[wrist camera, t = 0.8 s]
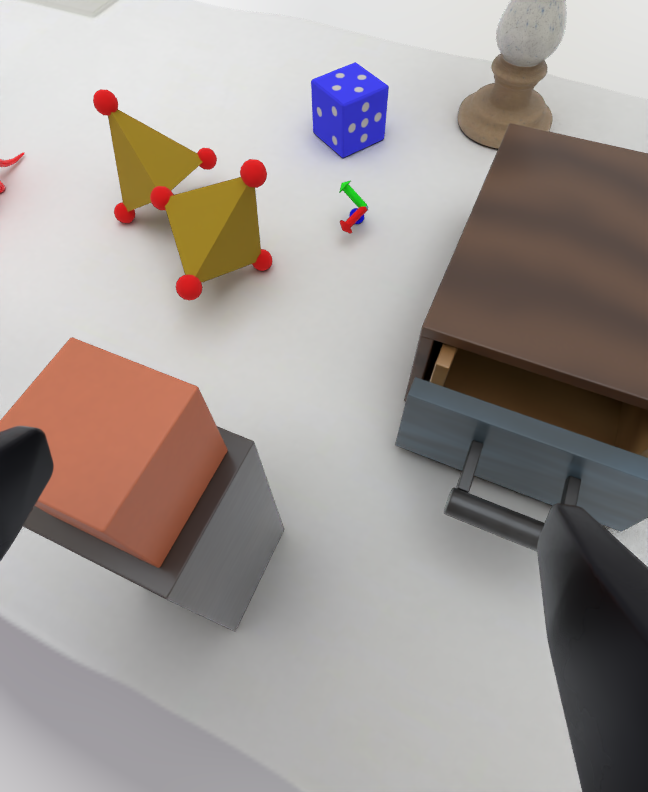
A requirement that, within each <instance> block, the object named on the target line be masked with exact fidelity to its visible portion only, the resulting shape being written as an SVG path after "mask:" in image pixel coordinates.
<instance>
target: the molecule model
mask: <svg viewBox="0 0 648 792" xmlns="http://www.w3.org/2000/svg"><path fill="white" fill-rule="evenodd" d="M93 102H94V106H95V108H96V109H97V111H98V112H100V113H101V114H103V115H108V119H109V124H110V130H111V136H112V142H113V148H114V153H115V159H116V165H117V171H118V177H119V182H120V188H121V194H122V200H123V203H119V204H117V205H116V207H115V210H114V214H115V217H116V218H117V220H119V221H120V222H122V223H130V222H132V221H133V219H134V218H135V210H134V209H136V208H139V207H141V206H144V205H146V204H149V203H152V204H153V206H154V207H156V208H157V209H159V210H166V212H167V215H168V219H169V222H170V225H171V229H172V232H173V235H174V239H175V242H176V245H177V249H178V252H179V255H180V259H181V262H182V265H183V269H184V272H185V275H183V276H182V277H180V278H179V279H178V281H177V283H176V290H177V293H178V294H179V296H180V297H182V298H183V299H185V300H194V299H196V298H198V297H199V296H200V294H201V293H202V284H201V283H202V282H205V281H207V280H210V279H213V278H215V277H218V276H221V275H223V274H226V273H229V272H231V271H234V270H237V269H239V268H242V267H245V266H247V265H250V264H252V265H253V266H254V268H256V269H257V270H260V271H265V270H267V269H269V268H270V266H271V265H272V256H271V255H270V253H269V252H268V251H266V250H264V249H261V247H260V236H259V226H258V215H257V204H256V194H255V188H258V187H259V186H261V185H263V184H264V182H265V180H266V177H267V172H266V168H265V166H264V165H263V163H262V162H260V161H259V160H253V159H249V160H248V161H246V162H244V164H243V165H242V167H241V170H240V175H241V177H239V178H236V179H232V180H228V181H225V182H221V183H217V184H213V185H210V186H206V187H202V188H199V189H195V190H191V191H188V192H184V193H180V194H176V195H174V194H173V193H172V191H171V190H172V189H173V188H174V187H176V186H177V185H178V184H179V183H180V182H181V181H182V180H183V179H185V178H186V177H187V176H188V175H189V174H190V173H191V172H192V171H193V170H195V169H196V168H197V167H198V166H200V167H201V168H203V169H209V170H210V169H212V168H213V167H214V166H215V164H216V161H217V158H216V155H215V153H214V152H213V151H212V150H211V149H209V148H202V149H200V150H199V151H198V153H195V152H193V151H192V150H190V149H188V148H186V147H184V146H183V145H181V144H179V143H177V142H175V141H174V140H172V139H170V138H168V137H166V136H165V135H163V134H161V133H159V132H157V131H156V130H154V129H152V128H150V127H148V126H147V125H145V124H143V123H141V122H139V121H138V120H136V119H134V118H132V117H130V116H129V115H127V114H125V113H123V112H121V111H120V110H118V101H117V98H116V97H115V96H114V94H113V93H111V92H110V91H108V90H99V91H97V92H96V93H95V95H94V99H93ZM349 183H350V181H347V182H344V183H342V184H341V188H340V192H341V191H342V190H343V191H344V192H345V193H346V194H347V195H348V196H349V198H350V199H351V200H352V201H353V202H354V203H355V204H356V205H357V206H358V207H359V208H355V209H353V210H351V212H350V217H349V218H348V219H347V221H346V222H344V221H342V220H341V221H340V224H341V227H342V230H343V231H345V232H348V233H352V230H351V227H352V226H353V225H354V224H360V223H362V222H363V220H364V213H365V212H366V211H367V210H368V206H367V204H366V203H365V202H364V201H363V200H362V199H361V197H360V196H359V195H358V194H357V193H356V192H355V191H354V190H353V189H352V188H351V187H350V185H349ZM340 192H339V193H340Z"/></svg>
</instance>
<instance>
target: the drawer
mask: <svg viewBox="0 0 648 792" xmlns="http://www.w3.org/2000/svg"><path fill="white" fill-rule="evenodd" d="M395 445H396V446H399V447H401V448H404V449H406V450H409V451H412V452H414V453H417V454H419V455H422V456H425V457H427V458H430V459H433V460H435V461H438V462H440V463H443V464H446V465H448V466H451V467H453V468H456V469H459V470H461V471H462V472H461V475H460V478H459V481H458V484H457V487H456V488H453V489H452V490H451V492H450V494H449V497H448V500H447V502H446V505H445V509H444V514H446V515H448V516H451V517H453V518H456V519H458V520H461V521H463V522H465V523H468V524H470V525H473V526H475V527H478V528H480V529H483V530H485V531H488V532H490V533H493V534H495V535H497V536H500V537H502V538H505V539H507V540H510V541H512V542H515V543H517V544H520V545H522V546H525V547H527V548H530V549H532V550H534V551H537V546H538V540H539V536H540V534H541V531H542V529H543V526H544V524H545V523H543V522H541V521H538V520H535V519H533V518H530V517H528V516H525V515H523V514H520V513H518V512H515V511H512V510H510V509H507V508H505V507H502V506H500V505H497V504H495V503H492V502H490V501H487V500H484V499H482V498H479V497H477V496H474V495H472V494H469V493H468V492H469V490H470V487H471V484H472V481H473V477H474V476H477V477H479V478H482V479H485V480H487V481H490V482H493V483H495V484H498V485H500V486H503V487H506V488H508V489H511V490H513V491H516V492H519V493H521V494H524V495H526V496H529V497H532V498H534V499H537V500H539V501H542V502H545V503H547V504H550V505H552V506H553V505H554V504H557V503H561V504H568V505H574V506H579V507H582V508H583V509H584V510H586V511H587V512H588V513H589V514H590V515H591V516H592V517H593V518H594V519H595V520H597V521H598V522H599V523H600V524H602V525H605V526H607V527H610V528H612V529H615V530H618V531H620V532H621V531H623V530H625V529H627V528H629V527H631V526H633V525H635V524H637V523H638V522H640V521H642V520H644V519H646V518H648V410H646V409H643V408H640V407H637V406H634V405H631V404H628V403H625V402H622V401H619V400H616V399H613V398H609V397H606V396H603V395H600V394H597V393H594V392H591V391H588V390H585V389H582V388H579V387H576V386H573V385H570V384H567V383H564V382H561V381H558V380H555V379H552V378H549V377H546V376H543V375H539V374H536V373H533V372H530V371H527V370H524V369H521V368H518V367H515V366H512V365H509V364H506V363H503V362H500V361H497V360H494V359H491V358H488V357H485V356H482V355H479V354H476V353H473V352H469V351H466V350H463V349H460V348H457V347H454V346H451V345H448V344H445V343H443V345H442V348H441V350H440V353H439V355H438V358H437V360H436V363H435V366H434V369H433V372H432V375H431V379H430V382H429V381H426V380H423V379H420V378H417V377H415V378H414V381H413V383H412V385H411V388H410V390H409V393H408V396H407V400H406V404H405V408H404V412H403V416H402V420H401V424H400V428H399V432H398V436H397V440H396V444H395ZM537 552H538V551H537Z"/></svg>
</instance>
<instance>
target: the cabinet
mask: <svg viewBox="0 0 648 792" xmlns="http://www.w3.org/2000/svg"><path fill="white" fill-rule="evenodd" d="M443 343H445V344H448V345H451V346H454V347H457V348H460V349H463V350H466V351H469V352H473V353H476V354H479V355H482V356H485V357H488V358H491V359H494V360H497V361H500V362H503V363H506V364H509V365H512V366H515V367H518V368H521V369H524V370H527V371H530V372H533V373H536V374H539V375H543V376H546V377H549V378H552V379H555V380H558V381H561V382H564V383H567V384H570V385H573V386H576V387H579V388H582V389H585V390H588V391H591V392H594V393H597V394H600V395H603V396H606V397H609V398H613V399H616V400H619V401H622V402H625V403H628V404H631V405H634V406H637V407H640V408H643V409H646V410H648V154H647V153H643V152H638V151H634V150H629V149H625V148H620V147H616V146H611V145H607V144H602V143H598V142H593V141H589V140H584V139H580V138H575V137H571V136H566V135H562V134H557V133H553V132H548V131H544V130H539V129H535V128H530V127H526V126H521V125H517V124H512V123H510V124H509V125H508V128H507V130H506V132H505V135H504V137H503V139H502V142H501V144H500V146H499V149H498V151H497V153H496V156H495V158H494V160H493V163H492V165H491V167H490V170H489V172H488V174H487V177H486V179H485V181H484V184H483V186H482V188H481V191H480V193H479V195H478V198H477V200H476V202H475V205H474V207H473V209H472V212H471V214H470V216H469V219H468V221H467V223H466V226H465V228H464V230H463V233H462V235H461V237H460V240H459V242H458V244H457V247H456V249H455V251H454V254H453V256H452V258H451V260H450V263H449V265H448V267H447V270H446V272H445V274H444V277H443V279H442V281H441V284H440V286H439V288H438V291H437V293H436V295H435V298H434V300H433V302H432V305H431V307H430V309H429V312H428V314H427V316H426V319H425V321H424V323H423V326H422V329H421V333H420V337H419V342H418V346H417V350H416V354H415V358H414V362H413V366H412V371H411V375H410V379H409V383H408V387H407V391H406V395H405V399H404V401H406V400H407V396H408V393H409V390H410V388H411V385H412V383H413V381H414V378H415V377H417V378H420V379H423V380H426V381H429V382H430V379H431V375H432V372H433V369H434V366H435V363H436V360H437V358H438V355H439V353H440V350H441V348H442V345H443Z"/></svg>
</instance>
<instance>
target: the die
mask: <svg viewBox="0 0 648 792" xmlns="http://www.w3.org/2000/svg"><path fill="white" fill-rule="evenodd" d="M311 88H312V112H313V133H315V134H316V135H317V136H318V137H319V138H320V139H321V140H323V141H324V142H325V143H326V144H327V145H328V146H329V147H331V148H332V149H333V150H334V151H335V152H336V153H337V154H339V155H340V156H341V157H342V158H344V157H346V156H348V155H350V154H353V153H355V152H357V151H359V150H361V149H364V148H366V147H368V146H370V145H372V144H374V143H377V142H379V141H381V140H383V139H384V134H385V123H386V111H387V100H388V88H389V86H388V85H386V84H385V83H383V82H382V81H381V80H379V79H378V78H377V77H375V76H374V75H372V74H371V73H370V72H368V71H367V70H365V69H364V68H363V67H361V66H360V65H359V64H357V63H356V62H355V63H353V64H350V65H348V66H345V67H342V68H340V69H337V70H335V71H332V72H330V73H327V74H325V75H322V76H320V77H317V78H315V79H312V81H311Z"/></svg>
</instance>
